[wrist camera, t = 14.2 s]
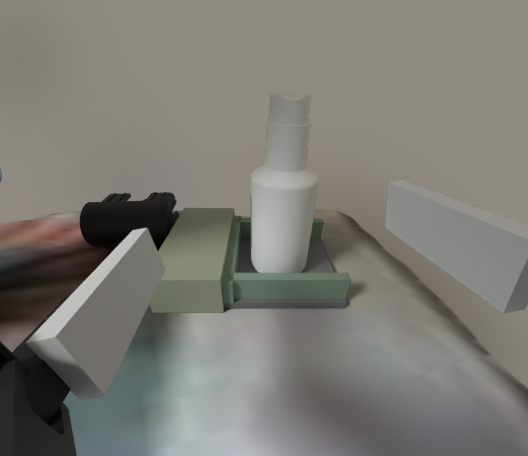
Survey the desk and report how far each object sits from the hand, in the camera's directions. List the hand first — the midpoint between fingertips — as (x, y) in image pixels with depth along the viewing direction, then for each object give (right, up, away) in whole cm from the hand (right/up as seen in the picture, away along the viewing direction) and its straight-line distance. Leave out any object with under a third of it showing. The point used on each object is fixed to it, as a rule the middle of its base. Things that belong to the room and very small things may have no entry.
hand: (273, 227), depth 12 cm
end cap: (-18, -2, +20) cm, 27 cm away
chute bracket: (-2, -5, +16) cm, 17 cm away
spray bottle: (+1, -4, +16) cm, 17 cm away
